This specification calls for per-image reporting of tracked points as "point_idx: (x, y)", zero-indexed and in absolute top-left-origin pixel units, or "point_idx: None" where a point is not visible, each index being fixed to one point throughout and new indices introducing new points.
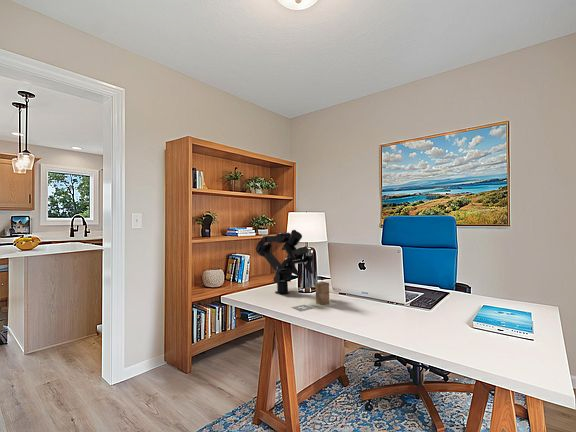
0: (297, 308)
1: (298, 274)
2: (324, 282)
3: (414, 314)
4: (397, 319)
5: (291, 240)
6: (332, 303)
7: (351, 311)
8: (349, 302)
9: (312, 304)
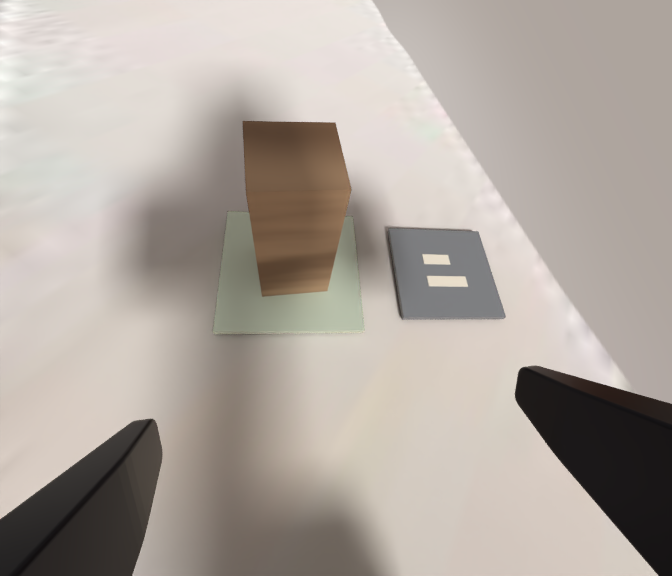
0: (474, 278)
1: (548, 369)
2: (262, 153)
3: (95, 8)
4: (197, 21)
5: None
6: (241, 233)
7: None
8: (112, 218)
9: (359, 286)
